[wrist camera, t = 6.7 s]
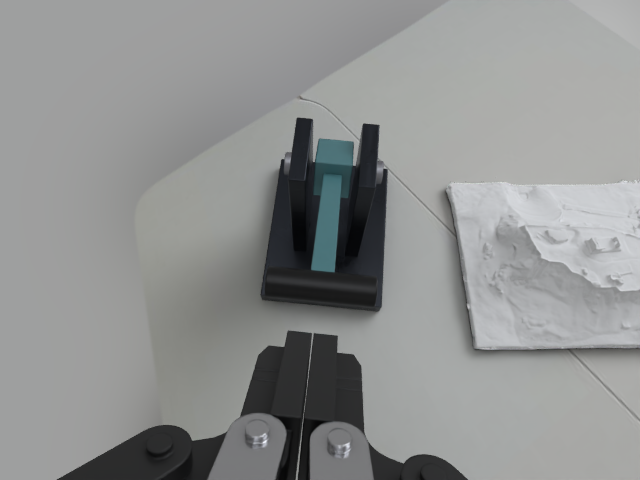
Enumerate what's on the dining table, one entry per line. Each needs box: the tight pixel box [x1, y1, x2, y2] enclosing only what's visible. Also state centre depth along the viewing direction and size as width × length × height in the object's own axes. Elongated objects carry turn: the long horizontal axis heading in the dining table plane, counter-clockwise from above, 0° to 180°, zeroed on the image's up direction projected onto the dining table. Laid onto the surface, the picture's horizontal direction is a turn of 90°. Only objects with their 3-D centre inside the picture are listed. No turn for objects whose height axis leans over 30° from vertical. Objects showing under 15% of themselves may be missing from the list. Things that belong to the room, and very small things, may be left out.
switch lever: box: [265, 139, 378, 308], centre depth 25 cm, size 12×5×2 cm, turn 174°
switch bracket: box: [261, 118, 388, 311], centre depth 33 cm, size 12×9×12 cm
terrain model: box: [446, 177, 640, 350], centre depth 36 cm, size 17×23×5 cm
